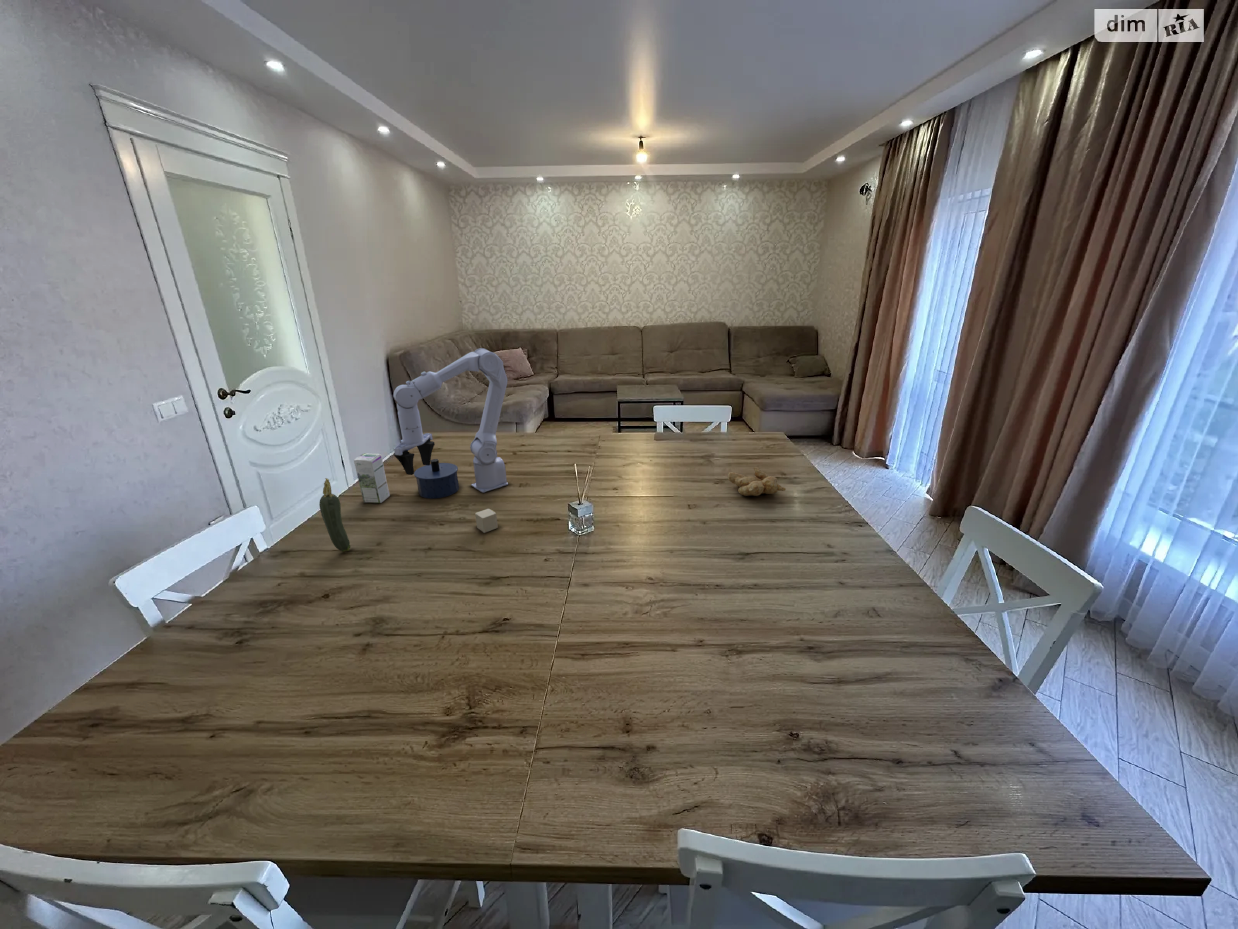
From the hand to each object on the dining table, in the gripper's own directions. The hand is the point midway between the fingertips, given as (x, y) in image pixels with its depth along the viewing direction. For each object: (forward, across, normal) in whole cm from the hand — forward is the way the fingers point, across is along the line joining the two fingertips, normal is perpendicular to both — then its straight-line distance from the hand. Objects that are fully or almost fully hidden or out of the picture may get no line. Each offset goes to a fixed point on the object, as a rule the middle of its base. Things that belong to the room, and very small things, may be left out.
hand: (418, 469), depth 146 cm
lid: (+4, -7, 0) cm, 8 cm away
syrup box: (+10, +4, -14) cm, 18 cm away
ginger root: (+11, -34, +99) cm, 105 cm away
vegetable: (+10, +32, 0) cm, 33 cm away
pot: (+10, -7, 0) cm, 13 cm away
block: (+10, +10, +28) cm, 32 cm away
